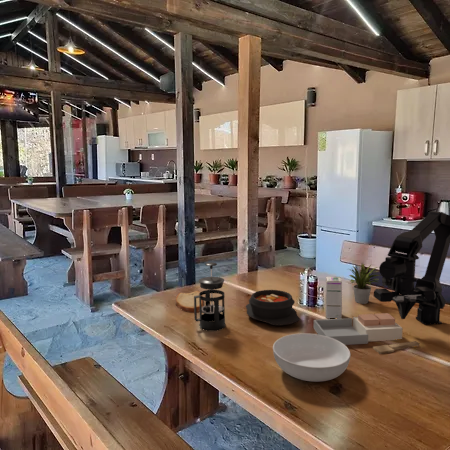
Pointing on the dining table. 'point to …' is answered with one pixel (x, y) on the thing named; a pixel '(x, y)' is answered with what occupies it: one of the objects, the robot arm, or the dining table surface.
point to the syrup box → (333, 297)
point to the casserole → (272, 307)
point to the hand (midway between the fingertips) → (402, 318)
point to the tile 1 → (368, 319)
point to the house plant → (362, 284)
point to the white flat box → (378, 331)
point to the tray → (340, 331)
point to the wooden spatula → (394, 347)
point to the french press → (212, 310)
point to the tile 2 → (385, 319)
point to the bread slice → (188, 301)
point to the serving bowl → (311, 356)
